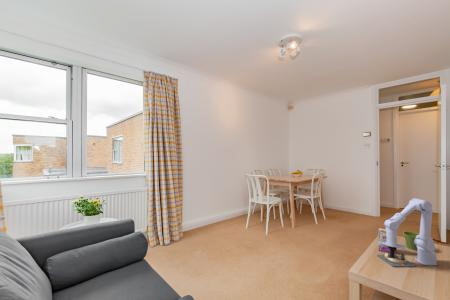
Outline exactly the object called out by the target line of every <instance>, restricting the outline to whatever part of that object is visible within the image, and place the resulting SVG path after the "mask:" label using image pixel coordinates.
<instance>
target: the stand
mask: <svg viewBox="0 0 450 300" xmlns="http://www.w3.org/2000/svg"><path fill="white" fill-rule="evenodd" d="M376 257H378V258H379V259H381V260H382V261H383V262H385V263H386V264H388V265H389V266H391V267H392V268H416V264H413V263H412V262H410V261H409V260H407V259H406V263H405V264H398V263H394V262H391V261H389V260H387V259H386V258H385V254H376Z"/></svg>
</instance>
